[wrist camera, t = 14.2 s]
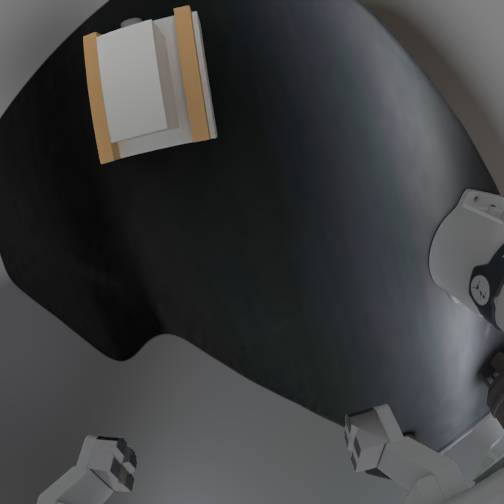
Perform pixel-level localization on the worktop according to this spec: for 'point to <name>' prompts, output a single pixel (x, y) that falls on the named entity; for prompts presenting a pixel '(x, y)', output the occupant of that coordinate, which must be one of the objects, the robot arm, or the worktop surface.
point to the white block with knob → (136, 81)
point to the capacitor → (496, 388)
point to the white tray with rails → (184, 87)
